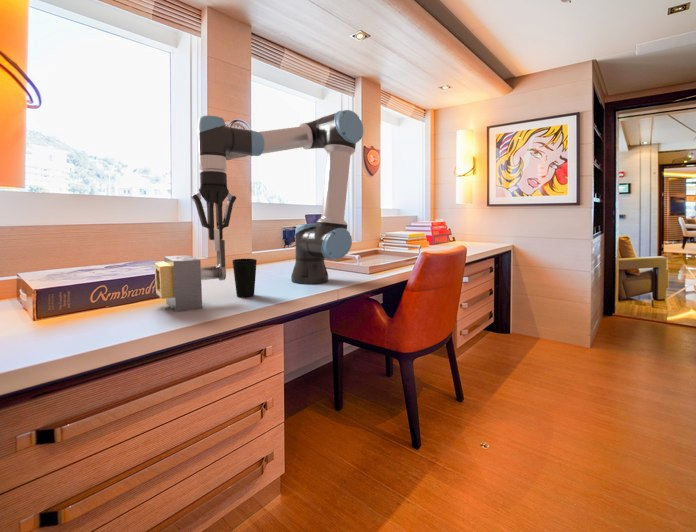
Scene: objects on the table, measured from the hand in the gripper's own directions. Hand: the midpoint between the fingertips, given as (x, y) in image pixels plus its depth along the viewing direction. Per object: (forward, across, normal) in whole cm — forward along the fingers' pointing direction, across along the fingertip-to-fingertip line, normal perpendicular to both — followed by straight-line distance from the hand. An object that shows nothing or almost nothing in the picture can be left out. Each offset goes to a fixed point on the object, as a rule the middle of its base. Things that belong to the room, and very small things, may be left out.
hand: (216, 250), depth 114 cm
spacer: (+12, +15, 0) cm, 19 cm away
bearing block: (+16, +10, 0) cm, 19 cm away
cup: (+16, -10, -2) cm, 19 cm away
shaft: (+9, +6, 0) cm, 11 cm away
